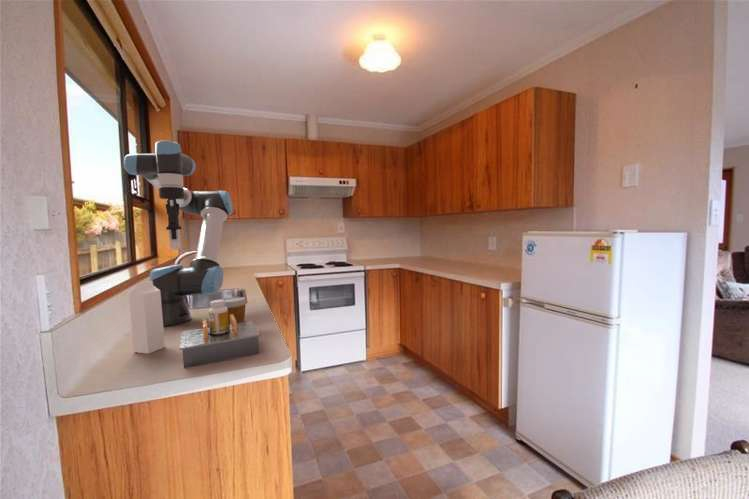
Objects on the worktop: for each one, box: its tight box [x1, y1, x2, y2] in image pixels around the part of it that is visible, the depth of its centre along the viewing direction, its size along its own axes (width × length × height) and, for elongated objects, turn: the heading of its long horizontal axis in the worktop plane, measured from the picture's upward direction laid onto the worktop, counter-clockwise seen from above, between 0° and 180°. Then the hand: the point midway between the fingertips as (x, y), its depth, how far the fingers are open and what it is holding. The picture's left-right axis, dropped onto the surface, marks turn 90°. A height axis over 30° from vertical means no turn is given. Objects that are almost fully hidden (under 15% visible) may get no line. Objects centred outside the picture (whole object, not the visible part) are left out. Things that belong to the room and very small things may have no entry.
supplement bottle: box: [208, 299, 229, 334], centre depth 104 cm, size 5×5×10 cm
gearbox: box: [179, 314, 261, 369], centre depth 105 cm, size 17×21×10 cm
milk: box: [128, 280, 166, 355], centre depth 108 cm, size 6×6×22 cm
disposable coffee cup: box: [221, 296, 248, 324], centre depth 125 cm, size 10×10×12 cm
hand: (175, 248), depth 120 cm, fingers open, 13 cm apart
